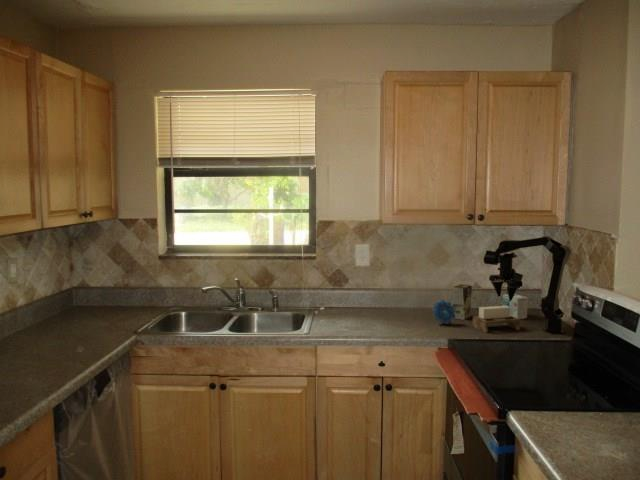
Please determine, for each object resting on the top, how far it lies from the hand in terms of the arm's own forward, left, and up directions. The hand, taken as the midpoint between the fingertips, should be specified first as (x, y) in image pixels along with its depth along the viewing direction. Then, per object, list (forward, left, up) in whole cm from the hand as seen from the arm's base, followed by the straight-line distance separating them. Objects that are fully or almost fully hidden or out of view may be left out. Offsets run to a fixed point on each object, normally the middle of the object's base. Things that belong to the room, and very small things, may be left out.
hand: (504, 298), depth 254 cm
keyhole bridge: (-8, +10, -12) cm, 17 cm away
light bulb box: (+9, -12, -12) cm, 20 cm away
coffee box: (+14, +15, -12) cm, 24 cm away
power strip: (-6, +10, -10) cm, 15 cm away
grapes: (+4, +30, -12) cm, 32 cm away
